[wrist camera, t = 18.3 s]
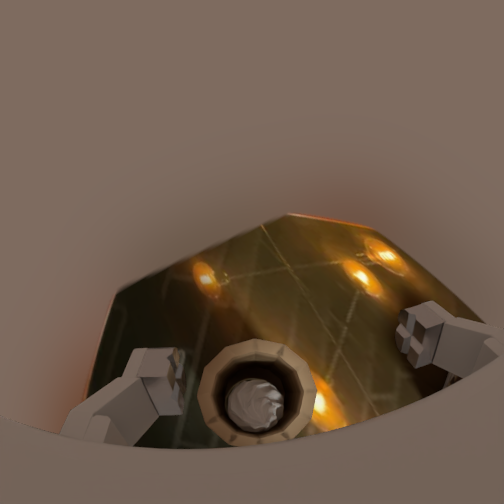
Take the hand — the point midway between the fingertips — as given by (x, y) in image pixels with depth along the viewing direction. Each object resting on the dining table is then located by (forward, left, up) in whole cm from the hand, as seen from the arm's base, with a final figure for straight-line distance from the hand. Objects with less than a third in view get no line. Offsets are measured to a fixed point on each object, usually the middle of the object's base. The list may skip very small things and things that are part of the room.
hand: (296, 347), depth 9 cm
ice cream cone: (-2, +1, -25) cm, 25 cm away
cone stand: (-2, 0, -26) cm, 26 cm away
